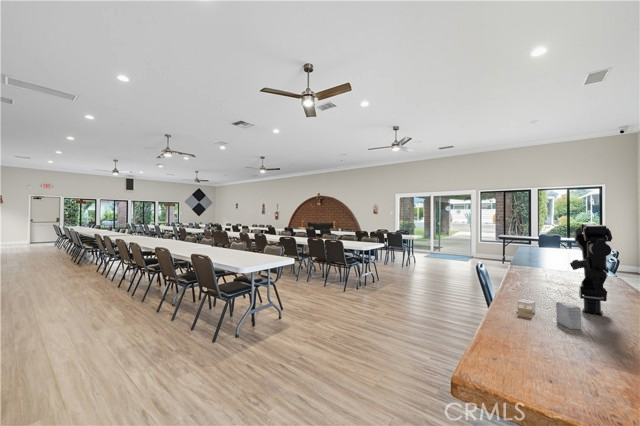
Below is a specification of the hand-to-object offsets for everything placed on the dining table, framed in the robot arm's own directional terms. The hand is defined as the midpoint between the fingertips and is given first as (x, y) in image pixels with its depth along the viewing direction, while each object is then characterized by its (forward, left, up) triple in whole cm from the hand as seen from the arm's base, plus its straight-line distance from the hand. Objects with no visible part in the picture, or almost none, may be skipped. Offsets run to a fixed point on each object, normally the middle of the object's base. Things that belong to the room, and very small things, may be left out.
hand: (598, 291), depth 118 cm
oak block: (+13, -23, -13) cm, 30 cm away
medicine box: (+15, -8, -13) cm, 22 cm away
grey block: (+6, -24, -13) cm, 28 cm away
